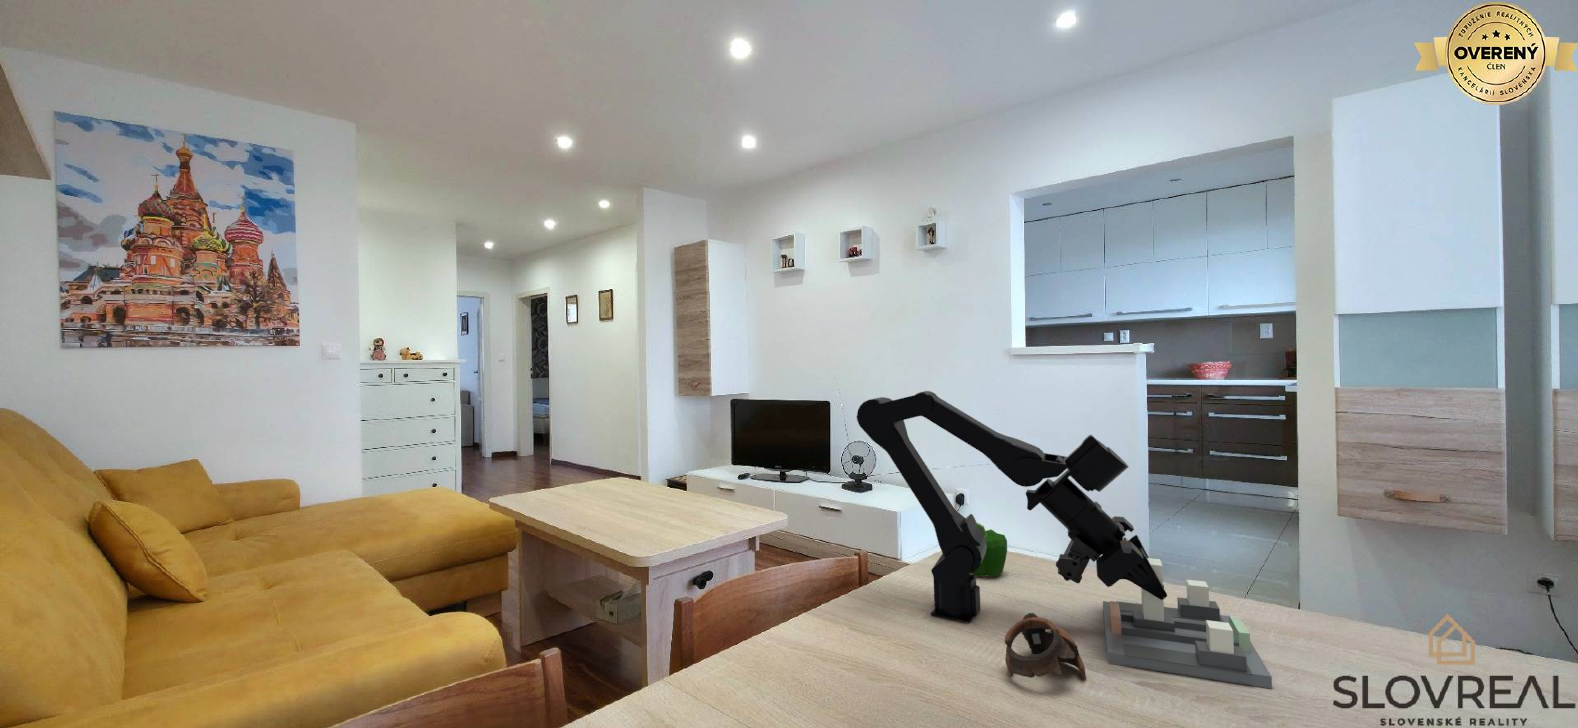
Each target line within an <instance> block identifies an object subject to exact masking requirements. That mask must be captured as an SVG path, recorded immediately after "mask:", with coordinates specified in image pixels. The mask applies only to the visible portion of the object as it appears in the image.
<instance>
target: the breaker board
mask: <svg viewBox="0 0 1578 728" xmlns="http://www.w3.org/2000/svg"><path fill="white" fill-rule="evenodd" d="M1185 584H1186V597H1179V596H1177V600H1176V601H1177V607H1169V606H1168V607H1167V606H1164V613H1167V614H1171V615H1172V617H1173V620H1174V623H1175V632H1170V631H1162V630H1155V629H1147V628H1139V627H1134V626H1133V614H1132V609H1134V610H1142V603H1134V602H1128V601H1127V602H1126V601H1118V600H1116V601H1112V600H1109V601H1106V600H1103V601H1102V614H1103V624H1104V634H1105V643H1106V652H1107V662H1108V664H1112V665H1117V666H1123V667H1131V668H1137V669H1142V670H1143V669H1144V670H1150V671H1156V672H1163V673H1170V674H1175V675H1181V676H1182V675H1183V676H1188V677H1195V678H1201V679H1208V680H1214V681H1220V682H1227V683H1234V684H1240V685H1246V686H1252V687H1258V688H1265V689H1270V688H1272V689H1273V680H1272V678H1273V677H1272V675H1271V673H1270V671H1269V670H1268V668H1267V667H1266V665H1265V663H1264V661H1263V660H1262V658H1261V656H1260V655H1259V653H1258V652H1257V650H1256V648H1255V646H1254V645H1253V643H1252V641H1251V636H1250V635H1251V634H1250V632H1249V630H1248V628H1247V627H1246V625H1245V624H1244V622H1243V620H1242V619H1241V617H1240V616H1239V615H1231V614H1228V615H1224V614H1223V615H1222V614H1221V612H1220V611H1221V610H1220V606H1219V605H1218V603H1217V601H1215V600H1210V591H1209V590H1210V588H1209V586H1208V583H1207V582H1206V581H1203V580H1196V579H1195V580H1192V579H1186V583H1185Z"/></svg>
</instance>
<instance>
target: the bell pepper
mask: <svg viewBox="0 0 1578 728" xmlns="http://www.w3.org/2000/svg"><path fill="white" fill-rule="evenodd" d="M977 524H978V526H979V528H980V529H981V530H982V531H983V532H985V533H986V535H985V537H984V539H985V541H986V544H987V549H986V554H985V556H984V558H983V560H982V563H981V565H980V566H979V568H978V569H977V570H976V571H975V572H973V573H970V574H971V575H975V576H976V577H985V576H987V577H993V578H996V577H999V576H1001V574H1002V573H1003V571H1004V569H1005V565H1006V560H1007V554H1008V539H1007V538H1006V536H1005V534H1002V533H998V532H996V531H995V530H993V529H988V530H986V528H985V526H984V525H982V524H981V523H979V522H977Z"/></svg>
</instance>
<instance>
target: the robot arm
mask: <svg viewBox="0 0 1578 728" xmlns="http://www.w3.org/2000/svg"><path fill="white" fill-rule="evenodd" d="M918 417H923V418H925V419H927V420H928V421H929V422H932V423H933V424H935V425H936V426H938V427H939V428H941V429H943V430H944V431H946V432H947V433H949V434H951V435H953V437H955V438H958V439H959V440H960V441H962V442H964V443H966V444H967V445H969V446H970V447H972V448H974V449H975V450H976V451H979V452H980V453H982V454H983V455H984V456H985V457H986V458H988V459H989V460H990V461H991V462H992V463H993V465H995V467H996V468H997V469H998V470H999V471H1000V472H1002V474H1004V475H1005V476H1006V477H1007V478H1009V480H1011V482H1013V483H1014V484H1016V485H1018V486H1020V487H1023V488H1024V487H1025V488H1027V487H1034V486H1036V485H1038V484H1039V483H1041V482H1042V481H1043V480H1044V479H1045V481H1044V482H1042V483H1041V484H1040V485H1039V486H1038V487H1037V488H1036V489H1027V490H1026V491H1025V496H1026V500H1027V505H1026V508H1027V511H1032V510H1034V508H1036V507H1037V506H1038V505H1039V504H1040V505H1042V506H1043V507H1044V508H1045V509H1046V510H1047V511H1048V512H1049V513H1050V514H1051V515H1052V516H1053V517H1054V518H1055V519H1056V520H1057V521H1058V522H1059V523H1061V525H1063V526H1064V528H1065V529H1067V537H1068V538H1069V539H1070V541H1069V542H1068V545H1067V547H1066V549H1065V551H1064V553H1063V554H1062V553H1060V554H1059V556H1058V560H1056V562H1055V567H1056V568H1057V574H1058V575H1059V576H1061V577H1063V580H1064V581H1066V582H1068V581H1072V582H1074V583H1076V584H1080V583H1081V581H1082V580H1083V575H1084V572H1085V570H1086V568H1087V566H1088V564H1089V562H1090V560H1091V561H1092V562H1096V563H1095V564H1096V565H1095V566H1096V577H1097V578H1098V579H1099V580H1100V581H1101V582H1102V583H1103V584H1104V585H1105V586H1106V587H1107V588H1110V587H1113V586H1114V585H1115V584H1116V583H1117V582H1118V581H1120V580H1127V581H1128V582H1131V584H1134V585H1136V586H1138V588H1142V589H1144V590H1146V591H1147V592H1149V593H1151V594H1152V595H1154V596H1155V597H1157V598H1159V599H1160V600H1164V599H1166V598H1167V597H1168V593H1167V592H1166V589H1165V585H1164V584H1163V586H1162V584H1161V582H1160V581H1159V579H1158V577H1157V575H1156V573H1155V571H1154V570H1153V568H1152V566H1151V564H1150V562H1149V560H1148V559H1147V558H1150V557H1149V555H1148V553H1147V551H1146V549H1145V547H1144V546H1143V544H1142V542H1141V539H1140V537H1139V536H1138V534H1135V535H1133V536H1132V537H1131V538H1130V539H1128V538H1126V537H1125V536H1126V532H1131V533H1132V532H1133V531H1134V530H1135V529H1134V525H1133V524H1132V523H1131V522H1129V521H1128V520H1127V519H1126V517H1124V516H1116V515H1114V516H1113V517H1111V516H1110V515H1108V514H1107V513H1106V511H1104V510H1103V508H1102V505H1101V504H1100V503H1099V502H1098V501H1097V500H1092V498H1090V497H1089V496H1088V495H1087V494H1085V492H1084V491H1083V490H1085V491H1086V492H1090V491H1091V492H1094V491H1097V492H1101V491H1103V490H1104V489H1105V488H1106V487H1107V486H1108V485H1110V484H1111V483H1112V482H1113V481H1114V480H1116V479H1117V478H1118V477H1119V476H1120V475H1122V474H1123V472H1125V471H1126V470H1127V469H1128V468H1129V465H1128V464H1127V463H1126V462H1125V460H1124V459H1122V458H1121V457H1120V456H1119V455H1118V453H1116V452H1115V451H1114V450H1113V449H1112V448H1110V447H1109V446H1106V445H1105V444H1103V443H1102V442H1101V441H1100V440H1099V439H1097V438H1096V437H1094V435H1092V434H1089V435H1088V436H1087V437H1085V439H1084V440H1083V441H1082V442H1081V444H1080V445H1078V446H1077V448H1075V449H1074V450H1073V451H1072V452H1071V453H1070V454H1068V456H1066V455H1061V454H1060V455H1059V454H1054V453H1046V452H1044V451H1043V450H1042V449H1041V448H1040V447H1038V446H1036V445H1033V444H1032V443H1028V442H1026V441H1023V440H1021V439H1018V438H1015V437H1012V436H1008V435H1006V434H1003V433H1000V432H997V431H996V430H994V429H992V428H991V427H989V426H987V425H986V424H984V423H982V422H981V421H979V420H977V419H975V418H974V417H972V416H971V415H969V414H967V413H966V412H964V411H963V410H961V409H959V408H957V407H955V406H954V405H952V404H951V403H948V402H947V401H946V400H944V399H942V398H940V396H938V395H937V394H936V393H935V392H933V391H931V390H925V391H920V392H917V393H916V394H914V395H910V396H905V397H900V398H898V399H894V400H893V399H891V398H889V397H884V396H882V397H881V396H880V397H875V398H871V399H867V400H865V401H864V402H862V403H861V404H860V406H859V407H858V409H857V413H856V421H857V423H858V426H859V427H860V428H861V430H863V431H864V433H865V434H866V435H867V436H868V437H869V438H870V439H871V441H873V442H874V443H875V444H877V445H878V446H879V447H880V448H881V449H882V450H884V451H885V452H886V453H887V455H888V456H889V457H890V459H891V461H892V462H893V464H894V466H895V467H896V468H897V470H898V472H899V474H900V475H901V476H902V478H903V479H904V481H905V483H906V484H907V486H908V487H909V489H910V490H911V492H912V493H913V495H914V497H915V498H916V500H917V502H918V503H919V504H920V506H921V508H922V509H923V511H924V512H925V514H926V516H927V517H928V519H929V520H930V522H931V523H932V525H933V527H934V531H935V535H936V538H937V543H938V546H939V548H940V551H941V553H942V554H941V555H940V556H939V558H938V559H937V561H936V562H935V564H934V565H933V567H932V568H931V572H930V573H931V574H932V577H933V599H934V607H933V609H932V610H931V612H930V616H932V617H935V618H941V619H944V620H945V619H946V620H950V621H955V622H960V623H966V624H970V623H971V622H972V621H973V620H974V618H975V617H976V616H977V615H978V614H979V613H980V612H981V589H980V588H981V587H980V586H979V585H977V576H975V575H972V574H971V573H973V572H975V571H976V570H977V569H978V568H979V566H980V565H981V563H982V560H983V558H984V556H985V554H986V549H987V544H986V541H985V539H984V537H985V535H986V533H985V532H983V531H982V530H981V529H980V528H979V526H978V524H977V523H978V522H977V520H976V518H975V515H973V514H972V513H970V514H969V515H967V516H966V517H965V516H963V515H962V514H961V513H960V512H958V511H957V510H956V509H955V508H954V505H953V504H952V503H951V502H950V499H949V498H948V496H947V495H946V494H945V492H944V490H943V489H942V487H941V486H940V484H939V483H938V481H937V480H936V478H935V476H934V475H933V474H932V472H931V471H930V469H929V468H928V465H927V464H926V462H925V461H924V460H923V459H922V457H921V455H920V454H919V452H918V451H917V449H916V447H915V446H914V444H913V443H912V441H911V440H910V437H909V435H908V430H907V427H906V424H905V420H909V419H913V418H918ZM1070 477H1071V478H1072V479H1073V480H1074V481H1075V482H1076V483H1077V484H1078V485H1079V486H1080V487H1082V489H1083V490H1082V489H1080V487H1079V486H1078V485H1076V483H1074V482H1073V481H1072V480H1071V479H1070ZM1051 478H1052V479H1053V478H1057V479H1055V480H1052V479H1051Z"/></svg>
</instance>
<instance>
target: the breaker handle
mask: <svg viewBox="0 0 1578 728" xmlns="http://www.w3.org/2000/svg"><path fill="white" fill-rule="evenodd" d="M1147 559H1148V560H1149V562H1150V564H1151V566H1152V568H1153V570H1154V571H1155V573H1156V575H1157V577H1158V579H1159V581H1160V582H1161V584H1162V586H1163V585H1164V579H1163V578H1164V575H1163V564H1162V561H1161V559H1159V558H1151V557H1149V558H1147ZM1140 588H1141V587H1140ZM1140 590H1141V593H1140V594H1141V604H1142V610H1134V609H1132V614H1133V626H1134V627H1139V628H1147V629H1155V630H1162V631H1170V632H1175V623H1174V620H1173V617H1172V615H1171V614H1167V613H1164V607H1165V605H1164V603H1165V602H1164V601H1165V600H1164V599H1163V600H1160V599H1159V598H1157V597H1155V596H1154V595H1152V594H1151V593H1149V592H1147V591H1146V590H1144V589H1142V588H1141V589H1140Z"/></svg>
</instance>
